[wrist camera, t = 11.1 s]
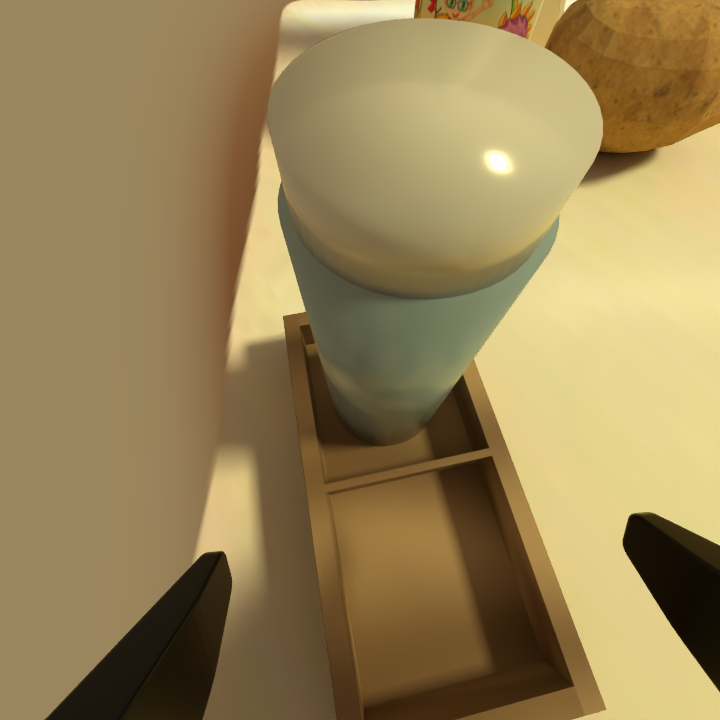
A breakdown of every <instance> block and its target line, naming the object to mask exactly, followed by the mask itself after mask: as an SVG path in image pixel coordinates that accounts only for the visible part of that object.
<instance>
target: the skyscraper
mask: <svg viewBox="0 0 720 720" xmlns="http://www.w3.org/2000/svg"><path fill="white" fill-rule="evenodd" d="M564 6H565V0H544V2H543V5H542V8H541V10H540V13H539V16H538V19H537V22H536V25H535V28H534V30H533V33H532V36H531V39H530V41H532V42H535V43H537V44H538V45H540V46H542V47H544V48H545V46H546V43H547V41H548V39H549V37H550V34H551V32H552V30H553V28H554V25H555V24H556V23H557V21H558V20H559V19H560V18H561V16H562V15H563V13H564Z"/></svg>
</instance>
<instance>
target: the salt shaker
mask: <svg viewBox="0 0 720 720" xmlns="http://www.w3.org/2000/svg"><path fill="white" fill-rule="evenodd" d="M267 122H268V127H269V131H270V136H271V140H272V144H273V148H274V152H275V156H276V160H277V164H278V168H279V172H280V176H281V180H282V181H281V184H280V189H279V195H278V214H279V219H280V223H281V227H282V231H283V234H284V238H285V241H286V245H287V248H288V251H289V255H290V258H291V262H292V265H293V269H294V272H295V275H296V279H297V282H298V286H299V289H300V293H301V296H302V299H303V303H304V306H305V310H306V313H307V317H308V320H309V323H310V327H311V330H312V334H313V337H314V341H315V344H316V347H317V351H318V354H319V358H320V361H321V365H322V368H323V371H324V375H325V378H326V382H327V385H328V389H329V392H330V395H331V399H332V402H333V406H334V409H335V412H336V415H337V417H338V419H339V420H340V422H341V423H342V425H343V426H344V427H345V428H346V429H347V430H348V432H350V433H351V434H352V435H353V436H355V437H356V438H358V439H360V440H362V441H364V442H366V443H370V444H373V445H379V446H390V445H396V444H400V443H403V442H406V441H408V440H410V439H412V438H413V437H415V436H416V435H417V434H419V433H420V432H421V431H422V430H423V429H424V427H425V426H426V425H427V423H428V422H429V421H430V419H431V418H432V416H433V415H434V413H435V412H436V411H437V409H438V408H439V406H440V405H441V404H442V402H443V401H444V399H445V398H446V397H447V395H448V394H449V392H450V391H451V390H452V388H453V387H454V385H455V384H456V383H457V381H458V380H459V378H460V377H461V376H462V374H463V373H464V371H465V370H466V369H467V367H468V366H469V364H470V363H471V362H472V360H473V359H474V357H475V356H476V355H477V353H478V352H479V350H480V349H481V348H482V346H483V345H484V343H485V342H486V341H487V339H488V338H489V336H490V335H491V334H492V332H493V331H494V329H495V328H496V327H497V325H498V324H499V322H500V321H501V320H502V318H503V317H504V315H505V314H506V313H507V311H508V310H509V308H510V307H511V306H512V304H513V303H514V301H515V300H516V299H517V297H518V296H519V294H520V293H521V292H522V290H523V289H524V287H525V286H526V285H527V283H528V282H529V280H530V279H531V278H532V276H533V275H534V273H535V272H536V271H537V269H538V268H539V266H540V265H541V264H542V262H543V261H544V259H545V258H546V257H547V255H548V254H549V252H550V250H551V248H552V245H553V243H554V241H555V238H556V235H557V231H558V227H559V214H560V212H561V211H562V209H563V208H564V206H565V205H566V203H567V202H568V200H569V199H570V197H571V195H572V194H573V192H574V191H575V189H576V188H577V186H578V185H579V183H580V182H581V180H582V179H583V177H584V176H585V174H586V173H587V171H588V170H589V168H590V166H591V165H592V163H593V162H594V160H595V157H596V155H597V153H598V151H599V149H600V145H601V141H602V137H603V119H602V114H601V110H600V106H599V104H598V102H597V99H596V97H595V95H594V93H593V92H592V90H591V89H590V87H589V86H588V84H587V83H586V81H585V80H584V79H583V78H582V77H581V76H580V75H579V74H578V72H577V71H576V70H575V69H573V68H572V67H571V66H570V65H569V64H568V63H566V62H565V61H564V60H563V59H561V58H560V57H558V56H557V55H555V54H554V53H552V52H551V51H549V50H548V49H546V48H544V47H542V46H540V45H538V44H537V43H535V42H532V41H530V40H528V39H526V38H523V37H521V36H519V35H516V34H513V33H510V32H507V31H504V30H501V29H497V28H494V27H490V26H486V25H481V24H476V23H471V22H465V21H457V20H449V19H433V18H416V19H400V20H391V21H384V22H377V23H372V24H368V25H363V26H359V27H356V28H353V29H349V30H346V31H343V32H341V33H338V34H336V35H333V36H331V37H328V38H326V39H325V40H323V41H321V42H319V43H317V44H315V45H313V46H312V47H310V48H309V49H307V50H306V51H304V52H303V53H301V54H300V55H299V56H298V57H297V58H295V59H294V60H293V61H292V62H291V63H290V64H289V65H288V66H287V67H286V68H285V69H284V71H283V72H282V73H281V75H280V76H279V78H278V79H277V81H276V82H275V84H274V87H273V89H272V91H271V93H270V97H269V102H268V106H267Z"/></svg>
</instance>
